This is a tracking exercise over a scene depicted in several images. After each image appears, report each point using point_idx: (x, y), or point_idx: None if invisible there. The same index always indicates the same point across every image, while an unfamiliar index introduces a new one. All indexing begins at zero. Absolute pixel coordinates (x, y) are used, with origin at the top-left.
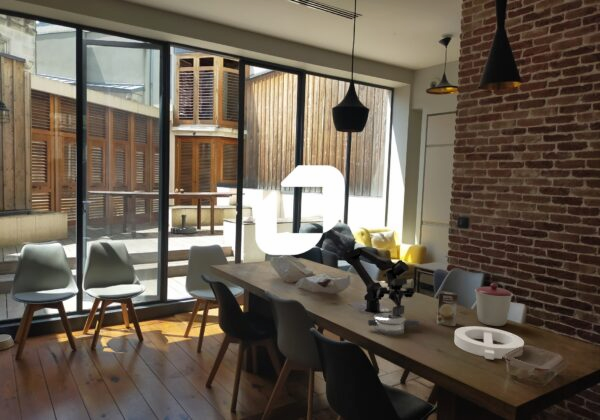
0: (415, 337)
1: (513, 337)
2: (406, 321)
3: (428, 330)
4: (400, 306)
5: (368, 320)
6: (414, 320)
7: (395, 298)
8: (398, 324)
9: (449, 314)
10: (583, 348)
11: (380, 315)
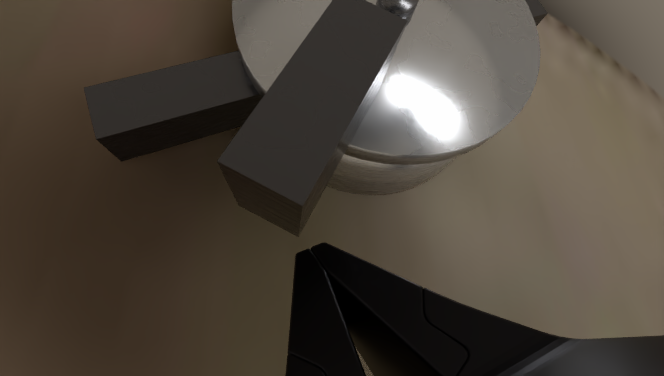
0: (178, 10)
1: None
2: (224, 55)
3: (21, 188)
4: (293, 101)
5: (539, 3)
6: (129, 102)
7: (462, 305)
8: None
9: None
10: None
11: (487, 47)
